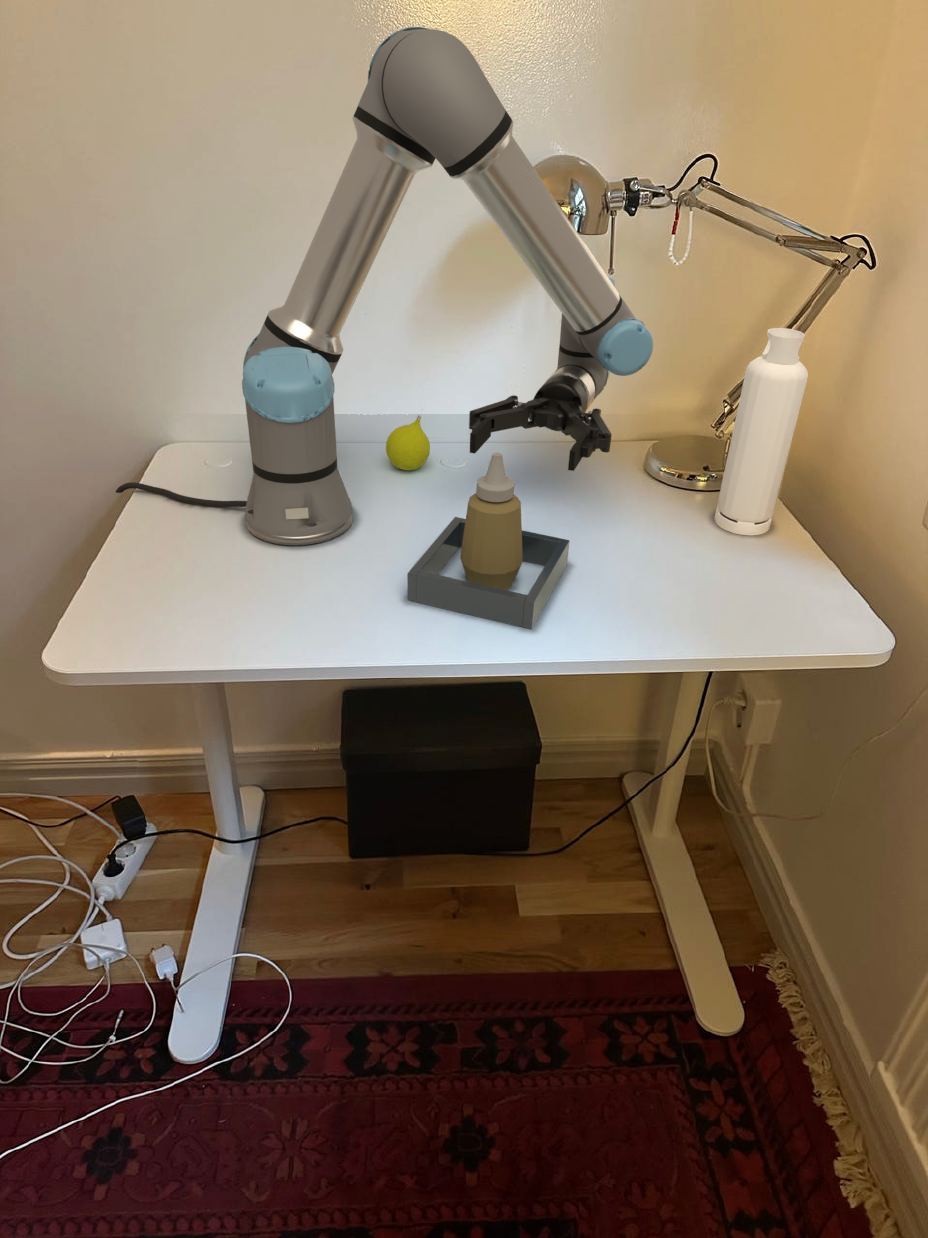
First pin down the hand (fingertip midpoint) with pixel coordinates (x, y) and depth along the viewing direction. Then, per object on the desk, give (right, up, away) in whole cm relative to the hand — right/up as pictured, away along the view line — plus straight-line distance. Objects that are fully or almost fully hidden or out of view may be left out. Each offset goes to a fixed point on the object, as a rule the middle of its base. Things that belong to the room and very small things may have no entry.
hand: (521, 452), depth 115 cm
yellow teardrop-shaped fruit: (-17, +3, +29) cm, 33 cm away
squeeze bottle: (-4, -17, 0) cm, 18 cm away
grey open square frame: (-4, -17, 0) cm, 17 cm away
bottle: (+34, -8, +16) cm, 38 cm away
